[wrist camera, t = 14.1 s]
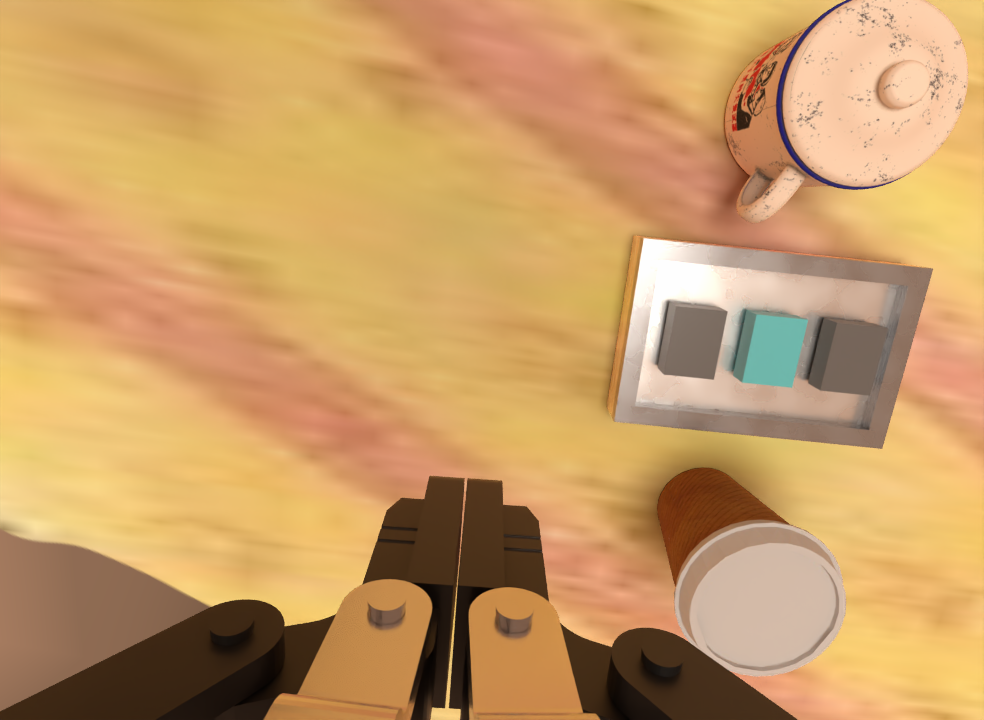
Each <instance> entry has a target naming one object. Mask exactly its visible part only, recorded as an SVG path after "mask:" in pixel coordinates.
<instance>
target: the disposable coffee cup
mask: <svg viewBox="0 0 984 720" xmlns="http://www.w3.org/2000/svg"><path fill="white" fill-rule="evenodd" d="M657 510H658V518H659V522H660V526H661V530H662V534H663V538H664V542H665V547H666V551H667V555H668V559H669V563H670V568H671V571H672V576H673V580H674V584H675V587H676V588H675V591H674V604H675V613H676V617H677V620H678V624H679V626H680V628H681V630H682V632H683V634H684V635H685V637H686V638H687V639H688V641H689V642H690V643H691V644H692V645H694V646H695V647H696V648H698V649H699V650H701V651H702V652H703V653H705V654H706V655H708V656H709V657H711V658H712V659H713V660H715V661H716V662H718V663H719V664H720V665H722V666H723V667H725V668H726V669H727V670H729V671H732V672H735V673H738V674H741V675H749V676H773V675H778V674H783V673H787V672H790V671H793V670H795V669H798V668H800V667H801V666H803V665H805V664H807V663H809V662H811V661H812V660H814V659H815V658H816V657H818V656H819V655H820V654H821V653H822V652H823V651H824V650H825V649H826V648H827V647H828V646H829V645H830V644H831V643H832V641H833V640H834V639H835V637H836V636H837V634H838V632H839V630H840V628H841V626H842V623H843V619H844V616H845V610H846V596H845V590H844V587H843V579H842V575H841V571H840V567H839V565H838V563H837V561H836V559H835V557H834V555H833V554H832V553H831V552H830V550H829V549H828V548H827V547H826V546H825V544H824V543H822V542H821V541H820V540H819V539H817V538H816V537H815V536H813V535H812V534H810V533H809V532H807V531H806V530H803V529H801V528H798V527H796V526H793V525H790V524H789V523H787V522H786V521H785V520H784V519H782V518H781V517H780V516H778V515H777V514H776V513H775V512H774V511H772V510H771V509H770V508H768V507H767V506H766V505H764V504H763V503H762V502H761V501H759V500H758V499H757V498H756V497H754V496H753V495H752V494H751V493H749V492H748V491H747V490H746V489H744V488H743V487H742V486H740V485H739V484H738V483H737V482H735V481H734V480H733V479H732V478H731V477H729V476H728V475H727V474H725V473H723V472H721V471H719V470H715V469H711V468H698V469H692V470H689V471H685V472H683V473H681V474H679V475H677V476H676V477H675V478H673V479H672V480H671V481H670V482H669V483H668V484H667V485H666V486H665V488H664V490H663V491H662V493H661V495H660V497H659V500H658V506H657Z"/></svg>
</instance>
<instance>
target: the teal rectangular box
mask: <svg viewBox="0 0 984 720" xmlns="http://www.w3.org/2000/svg"><path fill="white" fill-rule="evenodd" d="M807 323H808V320H807V319H805V318H802V317H800V316H797V315H791V314H781V313H772V312H762V311H753V310H747V311H746V315H745V320H744V325H743V330H742V335H741V339H740V344H739V349H738V354H737V358H736V363H735V368H734V373H733V376H734V377H735V378H737V379H738V380H739V381H741V382H742V383H751V384H760V385H770V386H780V387H790V388H792V386H793V382H794V378H795V373H796V369H797V365H798V361H799V356H800V352H801V348H802V344H803V340H804V335H805V331H806V327H807Z"/></svg>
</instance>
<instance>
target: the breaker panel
mask: <svg viewBox="0 0 984 720" xmlns="http://www.w3.org/2000/svg"><path fill="white" fill-rule="evenodd" d="M932 271H933V269H932V268H926V267H919V266H913V265H907V264H900V263H891V262H881V261H872V260H862V259H853V258H843V257H834V256H824V255H815V254H805V253H796V252H786V251H777V250H767V249H758V248H748V247H739V246H729V245H720V244H710V243H701V242H691V241H682V240H672V239H663V238H653V237H643V236H633V243H632V249H631V255H630V262H629V268H628V274H627V281H626V287H625V293H624V300H623V306H622V312H621V319H620V325H619V331H618V338H617V344H616V350H615V357H614V363H613V369H612V376H611V382H610V388H609V395H608V401H607V409H608V411H609V413H610V414H611V416H612V418H613V420H614V422H623V423H633V424H643V425H653V426H663V427H672V428H682V429H692V430H702V431H712V432H722V433H732V434H742V435H751V436H761V437H771V438H781V439H791V440H801V441H811V442H821V443H831V444H840V445H850V446H860V447H870V448H880V449H882V447H883V444H884V440H885V437H886V433H887V430H888V426H889V423H890V419H891V416H892V412H893V409H894V405H895V402H896V398H897V394H898V391H899V387H900V384H901V380H902V377H903V373H904V370H905V366H906V363H907V359H908V356H909V352H910V349H911V345H912V342H913V338H914V334H915V331H916V327H917V324H918V320H919V317H920V313H921V310H922V306H923V303H924V299H925V296H926V292H927V289H928V285H929V282H930V278H931V275H932ZM669 302H676V303H685V304H695V305H704V306H714V307H720V308H722V309H724V310H726V311H728V313H727V318H726V323H725V328H724V332H723V337H722V342H721V347H720V352H719V357H718V362H717V367H716V372H715V377H714V380H711V379H702V378H692V377H682V376H672V375H664V374H663V373H662V372H661V371H660V370H659V369H658V362H659V357H660V351H661V345H662V340H663V334H664V329H665V323H666V317H667V312H668V306H669ZM747 310H753V311H762V312H772V313H781V314H791V315H797V316H800V317H802V318H805V319H807V320H808V323H807V327H806V331H805V335H804V340H803V344H802V348H801V352H800V356H799V361H798V365H797V369H796V373H795V378H794V382H793V386H792V388H790V387H780V386H770V385H760V384H751V383H742V382H741V381H739V380H738V379H737V378H735V377H734V376H733V373H734V368H735V363H736V358H737V354H738V349H739V344H740V339H741V335H742V330H743V325H744V320H745V315H746V311H747ZM824 318H830V319H839V320H849V321H858V322H868V323H875V324H878V325H881V326H884V327H887V328H888V331H887V335H886V339H885V342H884V346H883V350H882V353H881V357H880V361H879V364H878V368H877V372H876V375H875V379H874V383H873V386H872V390H871V394H870V396H868V395H858V394H848V393H839V392H829V391H820V390H818V389H817V388H815V387H813V386H812V385H810V384H808V381H809V377H810V373H811V369H812V365H813V361H814V356H815V352H816V348H817V344H818V340H819V336H820V332H821V328H822V324H823V319H824Z"/></svg>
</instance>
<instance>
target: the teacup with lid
mask: <svg viewBox="0 0 984 720" xmlns="http://www.w3.org/2000/svg"><path fill="white" fill-rule="evenodd" d="M967 85H968V63H967V56H966V52H965V48H964V45H963V42H962V40H961V37H960V35H959V33H958V31H957V30H956V28H955V27H954V25H953V24H952V22H951V21H950V20H949V19H948V17H947V16H946V15H945V14H944V13H942V12H941V11H940V10H939V9H938V8H936V7H935V6H934V5H932V4H931V3H929V2H927V1H925V0H846V1H844V2H842V3H840V4H838V5H836V6H834V7H833V8H831V9H829V10H828V11H827V12H825V13H824V14H823V15H821V16H820V17H819V18H818V19H817V20H815V21H814V22H813V23H812V24H811V25H810V26H809V27H807V28H805V29H803V30H802V31H800V32H798V33H796V34H794V35H793V36H791V37H789V38H787V39H785V40H784V41H782V42H780V43H778V44H777V45H775V46H773V47H771V48H769V49H768V50H766V51H764V52H763V53H762V54H760V55H759V56H758V57H756V58H755V59H754V60H753V61H752V62H751V63H750V64H749V65H748V66H747V67H746V68H745V70H744V71H743V72H742V73H741V75H740V76H739V78H738V79H737V81H736V83H735V85H734V87H733V89H732V91H731V93H730V96H729V99H728V103H727V107H726V114H725V132H726V138H727V142H728V145H729V148H730V150H731V153H732V155H733V157H734V158H735V160H736V161H737V163H738V164H739V165H740V167H741V168H742V169H743V170H744V171H745V172H746V173H748V174H749V175H750V177H749V179H748V180H747V182H746V183H745V185H744V186H743V188H742V190H741V192H740V194H739V197H738V200H737V205H736V208H737V212H738V214H739V215H740V216H741V217H742V218H743V219H745V220H746V221H748V222H750V223H759V222H762V221H764V220H766V219H768V218H769V217H771V216H772V215H773V214H775V213H776V212H777V211H778V210H779V209H781V208H782V207H783V206H784V205H785V204H786V203H787V201H788V200H789V199H790V198H791V197H792V196H793V194H794V193H795V192H796V191H797V189H798V188H799V187H810V186H833V187H837V188H842V189H852V190H858V189H869V188H875V187H879V186H883V185H886V184H889V183H891V182H894V181H896V180H898V179H900V178H902V177H904V176H906V175H907V174H909V173H910V172H912V171H913V170H915V169H916V168H918V167H919V166H921V165H922V164H923V163H924V162H926V161H927V160H928V159H929V158H930V157H931V156H932V155H933V154H934V153H935V152H936V151H937V150H938V149H939V148H940V147H941V145H942V144H943V143H944V141H945V140H946V139H947V137H948V136H949V134H950V133H951V131H952V129H953V127H954V126H955V124H956V122H957V120H958V117H959V115H960V113H961V110H962V107H963V104H964V101H965V96H966V92H967ZM769 185H771V186H770V187H769V189H768V190H767V191H766V189H767V188H768V186H769ZM765 191H766V192H765ZM764 192H765V193H764Z"/></svg>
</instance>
